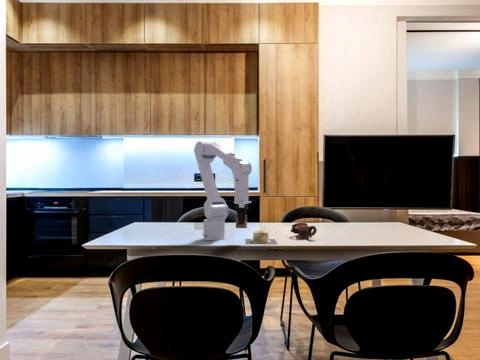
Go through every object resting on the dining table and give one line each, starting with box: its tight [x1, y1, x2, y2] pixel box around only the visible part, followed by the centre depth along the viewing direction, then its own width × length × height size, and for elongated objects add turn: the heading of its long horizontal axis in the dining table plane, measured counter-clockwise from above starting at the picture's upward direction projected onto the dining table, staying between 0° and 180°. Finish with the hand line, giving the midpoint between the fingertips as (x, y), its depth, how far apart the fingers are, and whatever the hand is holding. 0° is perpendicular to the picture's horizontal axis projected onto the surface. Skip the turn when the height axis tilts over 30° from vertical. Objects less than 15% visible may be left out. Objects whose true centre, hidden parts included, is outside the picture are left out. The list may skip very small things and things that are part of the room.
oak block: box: [252, 230, 269, 242], centre depth 176 cm, size 6×6×4 cm
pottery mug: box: [290, 222, 318, 241], centre depth 187 cm, size 12×10×8 cm
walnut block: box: [235, 214, 248, 229], centre depth 170 cm, size 4×4×5 cm
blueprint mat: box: [244, 238, 278, 245], centre depth 175 cm, size 13×13×1 cm
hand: (241, 223), depth 171 cm, fingers closed on walnut block, 4 cm apart
